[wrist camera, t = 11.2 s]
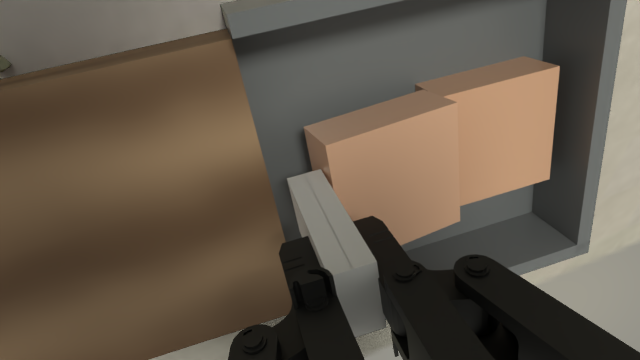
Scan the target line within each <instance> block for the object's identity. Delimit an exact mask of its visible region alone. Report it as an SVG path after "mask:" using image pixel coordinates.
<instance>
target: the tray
mask: <svg viewBox="0 0 640 360" xmlns="http://www.w3.org/2000/svg"><path fill="white" fill-rule="evenodd" d="M626 3H627V0H237V1H233V2H228V3H223V4H220V5H221V9H222V12H223V16H224V20H225V24H226V27H227V30H228V32H229V34H230V37H231V39H232V42H233V46H234V50H235V54H236V57H237V61H238V65H239V69H240V72H241V76H242V80H243V84H244V87H245V91H246V95H247V99H248V102H249V106H250V110H251V114H252V117H253V121H254V125H255V129H256V132H257V136H258V140H259V144H260V147H261V151H262V155H263V159H264V162H265V166H266V170H267V174H268V177H269V181H270V185H271V189H272V192H273V196H274V200H275V204H276V207H277V211H278V215H279V219H280V222H281V226H282V230H283V234H284V237H285V241H286V242H289V241H292V240H295V239H299V238H302V236H301V233H300V231H299V226H298V222H297V218H296V214H295V210H294V206H293V202H292V198H291V194H290V189H289V185H288V181H287V178H290V177H294V176H297V175H301V174H305V173H308V172H312V166H311V161H310V156H309V151H308V147H307V142H306V137H305V132H304V127H305V126H308V125H311V124H314V123H318V122H321V121H324V120H327V119H330V118H333V117H337V116H340V115H343V114H346V113H349V112H353V111H356V110H359V109H362V108H365V107H369V106H372V105H375V104H378V103H381V102H385V101H388V100H391V99H394V98H397V97H401V96H404V95H407V94H410V93H413V92H416V91H415V84H417V83H421V82H425V81H429V80H433V79H437V78H440V77H444V76H448V75H452V74H456V73H460V72H464V71H468V70H472V69H476V68H480V67H484V66H487V65H491V64H495V63H499V62H503V61H507V60H511V59H515V58H519V57H523V56H525V57H529V58H533V59H536V60H540V61H544V62H547V63H551V64H554V65H558V66H560V70H559V81H558V92H557V103H556V114H555V124H554V135H553V146H552V157H551V168H550V179H548V180H545V181H542V182H539V183H535V184H532V185H529V186H525V187H522V188H519V189H515V190H512V191H509V192H505V193H502V194H499V195H496V196H492V197H489V198H486V199H482V200H479V201H476V202H472V203H469V204H466V205H462V206H460V221H459V222H456V223H454V224H452V225H449V226H447V227H444V228H442V229H439V230H437V231H435V232H432V233H430V234H427V235H425V236H422V237H420V238H418V239H415V240H413V241H410V242H408V243H405V244H403V245H401V247H402V248H403V250H404V251H405V252H406V254H407V255H408V257H409V258H410V259H411V260H413V261H416V262H418V263H420V264H422V265H423V266H424V267H425V268H426V269H428V270H450V269H453V267H454V264H455V262H456V261H457V260H458V259H459V258H461V257H463V256H466V255H474V254H478V255H484V256H487V257H489V258H491V259H493V260H495V261H497V262H498V263H500V264H501V265H503V266H504V267H506V268H508V269H509V270H511V271H512V272H514V273H515V274H517V275H522V274H525V273H528V272H531V271H534V270H537V269H540V268H543V267H546V266H549V265H552V264H555V263H558V262H561V261H564V260H567V259H570V258H573V257H576V256H579V255H582V254H585V253H588V250H589V243H590V237H591V230H592V224H593V217H594V211H595V204H596V198H597V191H598V185H599V178H600V172H601V165H602V159H603V152H604V146H605V139H606V133H607V126H608V120H609V113H610V107H611V100H612V94H613V87H614V81H615V75H616V68H617V62H618V55H619V49H620V42H621V36H622V29H623V23H624V16H625V10H626ZM385 320H387V319H386V317H385Z"/></svg>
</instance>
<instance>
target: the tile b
mask: <svg viewBox="0 0 640 360" xmlns="http://www.w3.org/2000/svg"><path fill="white" fill-rule="evenodd" d="M559 70H560V66H558V65H554V64H551V63H547V62H544V61H540V60H536V59H533V58H529V57H525V56H523V57H519V58H515V59H511V60H507V61H503V62H499V63H495V64H491V65H487V66H484V67H480V68H476V69H472V70H468V71H464V72H460V73H456V74H452V75H448V76H444V77H440V78H437V79H433V80H429V81H425V82H421V83H417V84H415V91H420V90H426V91H429V92H431V93H434V94H437V95H439V96H442V97H445V98H447V99H450V100H453V101H455V102H457V104H458V146H459V188H460V206H462V205H466V204H469V203H472V202H476V201H479V200H482V199H486V198H489V197H492V196H496V195H499V194H502V193H505V192H509V191H512V190H515V189H519V188H522V187H525V186H529V185H532V184H535V183H539V182H542V181H545V180H548V179H550V168H551V157H552V146H553V135H554V124H555V114H556V103H557V92H558V81H559Z"/></svg>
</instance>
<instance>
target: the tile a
mask: <svg viewBox="0 0 640 360" xmlns="http://www.w3.org/2000/svg"><path fill="white" fill-rule="evenodd" d="M304 132H305V137H306V142H307V147H308V151H309V156H310V161H311V166H312V171H315V170H319V169H321V170H322V172H323V174H324V175H325V177H326V179H327V180H328V182H329V184H330V185H331V187H332V188H333V190H334V192H335V193H336V195H337V197H338V198H339V200H340V202H341V203H342V205H343V207H344V208H345V210H346V211H347V213H348V215H349V216H350V218H351V220H352V221H356V220H359V219H363V218H366V217H369V216H374V217H376V218H378V219H380V220H382V221H383V222H384V224H385V225H386V226H387V228H388V229H389V231H390V232H391V233H392V235H393V237H395V239H396V240H397V241H398V243H399V244H400V246H401V245H403V244H405V243H408V242H410V241H413V240H415V239H418V238H420V237H422V236H425V235H427V234H430V233H432V232H435V231H437V230H439V229H442V228H444V227H447V226H449V225H452V224H454V223H456V222H459V221H460V188H459V146H458V104H457V102H455V101H453V100H450V99H447V98H445V97H442V96H439V95H437V94H434V93H431V92H429V91H426V90H420V91H416V92H413V93H410V94H407V95H404V96H401V97H397V98H394V99H391V100H388V101H385V102H381V103H378V104H375V105H372V106H369V107H365V108H362V109H359V110H356V111H353V112H349V113H346V114H343V115H340V116H337V117H333V118H330V119H327V120H324V121H321V122H318V123H314V124H311V125H308V126H305V127H304Z"/></svg>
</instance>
